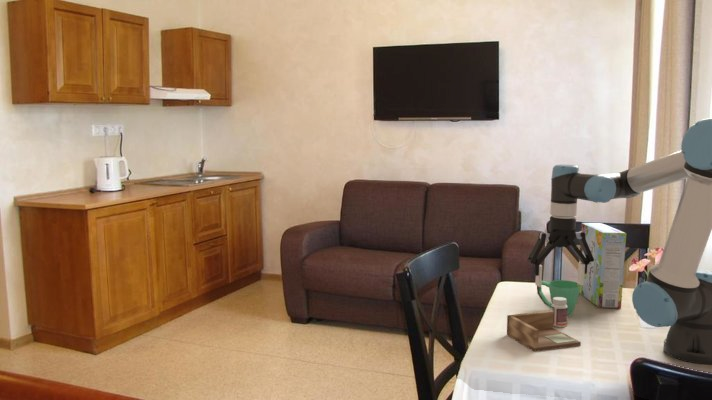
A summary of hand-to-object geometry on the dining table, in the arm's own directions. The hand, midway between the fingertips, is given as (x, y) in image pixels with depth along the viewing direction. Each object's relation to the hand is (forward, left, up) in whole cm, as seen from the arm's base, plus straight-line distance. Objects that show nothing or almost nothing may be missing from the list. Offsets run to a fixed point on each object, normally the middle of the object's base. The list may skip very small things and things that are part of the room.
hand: (559, 285), depth 195 cm
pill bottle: (0, 0, -13) cm, 13 cm away
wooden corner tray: (-10, +12, -13) cm, 20 cm away
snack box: (+19, -30, -13) cm, 38 cm away
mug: (+11, -7, -13) cm, 18 cm away
